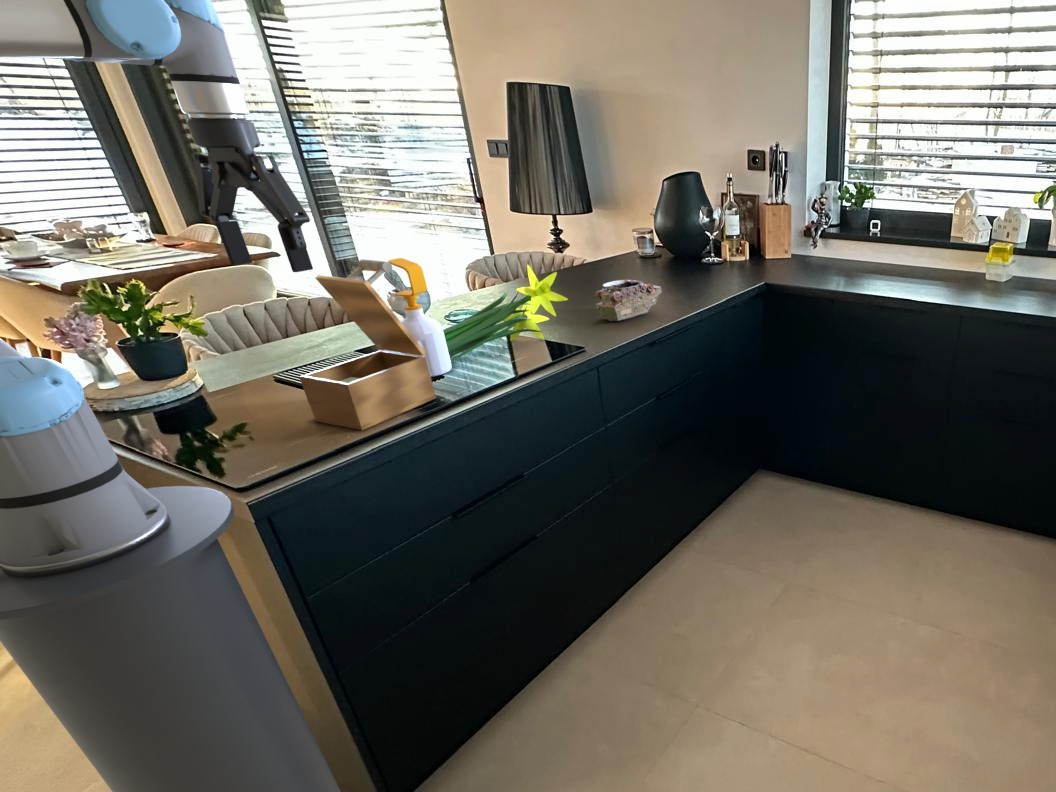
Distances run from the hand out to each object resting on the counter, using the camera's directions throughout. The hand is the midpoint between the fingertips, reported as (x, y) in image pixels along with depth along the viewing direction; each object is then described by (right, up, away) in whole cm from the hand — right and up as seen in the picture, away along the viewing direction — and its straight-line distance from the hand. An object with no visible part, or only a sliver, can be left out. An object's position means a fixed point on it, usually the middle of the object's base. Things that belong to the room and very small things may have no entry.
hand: (272, 267), depth 100 cm
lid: (+4, -5, +17) cm, 18 cm away
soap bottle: (+1, -12, +41) cm, 42 cm away
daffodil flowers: (+10, -4, +56) cm, 57 cm away
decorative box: (+33, +11, +88) cm, 95 cm away
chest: (+2, -21, +22) cm, 30 cm away
